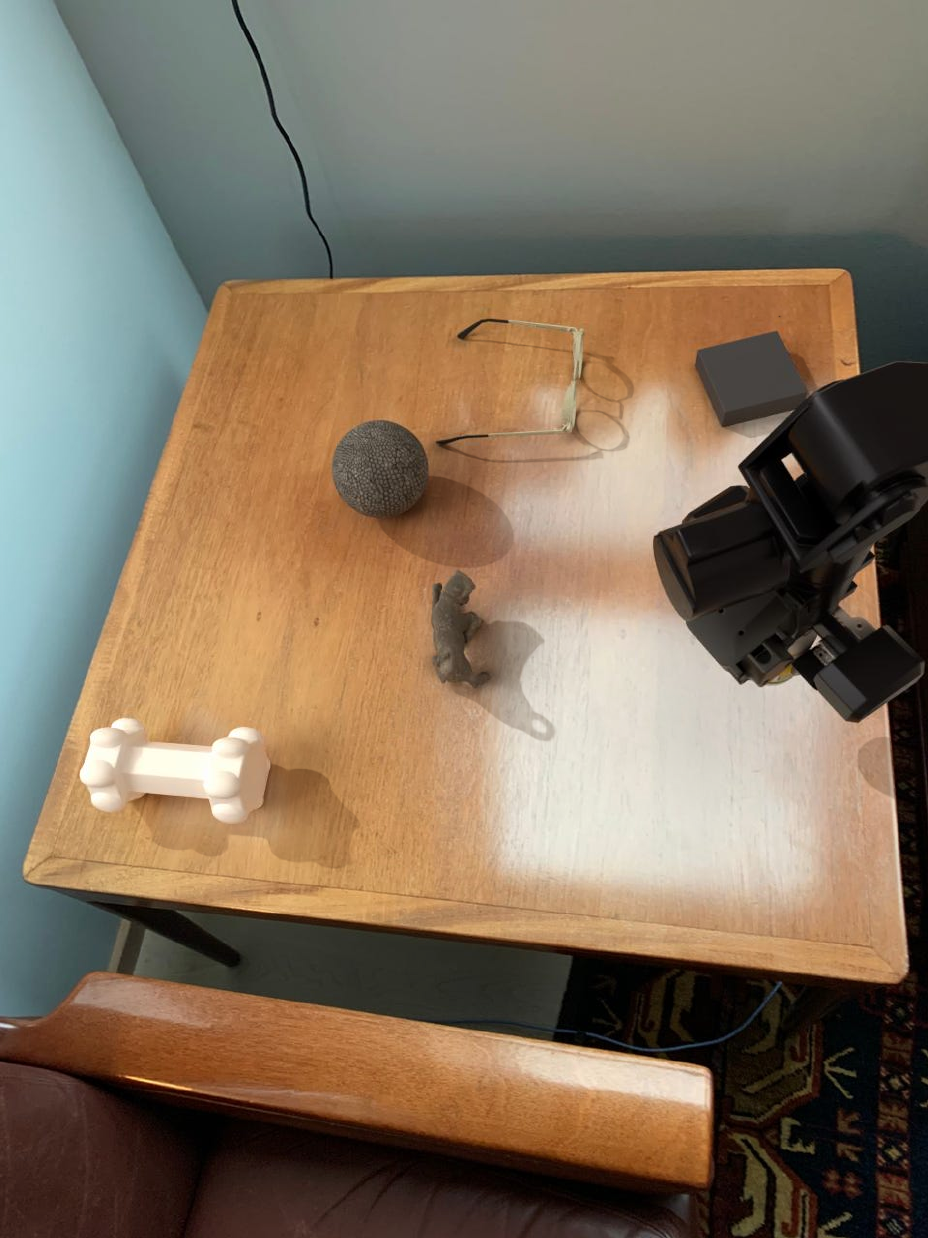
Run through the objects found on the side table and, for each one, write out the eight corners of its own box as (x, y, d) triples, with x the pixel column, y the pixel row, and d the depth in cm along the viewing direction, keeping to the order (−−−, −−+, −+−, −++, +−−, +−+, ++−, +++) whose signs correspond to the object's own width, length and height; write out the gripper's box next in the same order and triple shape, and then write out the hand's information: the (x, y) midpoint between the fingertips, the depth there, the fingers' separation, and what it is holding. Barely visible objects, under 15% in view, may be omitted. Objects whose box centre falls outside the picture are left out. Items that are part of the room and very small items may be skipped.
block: (772, 346, 97) (777, 329, 95) (803, 407, 93) (808, 391, 91) (694, 365, 97) (697, 349, 95) (721, 427, 93) (725, 412, 91)
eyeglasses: (571, 457, 94) (570, 428, 89) (434, 449, 96) (427, 420, 92) (585, 337, 101) (586, 305, 96) (458, 333, 103) (452, 301, 99)
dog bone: (279, 743, 83) (251, 715, 76) (260, 834, 80) (228, 813, 72) (135, 732, 86) (94, 703, 78) (110, 819, 82) (64, 798, 75)
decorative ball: (405, 443, 97) (387, 383, 88) (452, 504, 93) (439, 447, 84) (328, 489, 96) (303, 432, 87) (373, 552, 91) (351, 499, 83)
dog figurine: (491, 697, 83) (484, 667, 76) (432, 700, 83) (419, 671, 77) (488, 586, 88) (480, 549, 81) (432, 590, 89) (420, 553, 82)
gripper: (625, 511, 58) (618, 612, 72) (823, 729, 50) (772, 796, 64) (756, 427, 59) (725, 542, 73) (969, 626, 51) (888, 713, 65)
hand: (771, 643), depth 69 cm, fingers closed on supplement bottle, 5 cm apart
